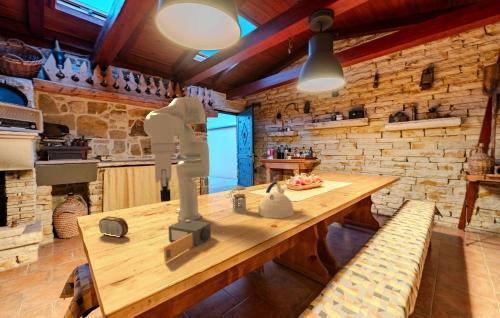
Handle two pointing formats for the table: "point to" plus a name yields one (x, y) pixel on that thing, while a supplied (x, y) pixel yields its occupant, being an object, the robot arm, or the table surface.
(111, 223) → the tin
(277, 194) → the kettle
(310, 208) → the table surface
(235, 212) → the french press
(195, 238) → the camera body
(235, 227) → the table surface
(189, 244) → the side door
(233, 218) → the table surface
